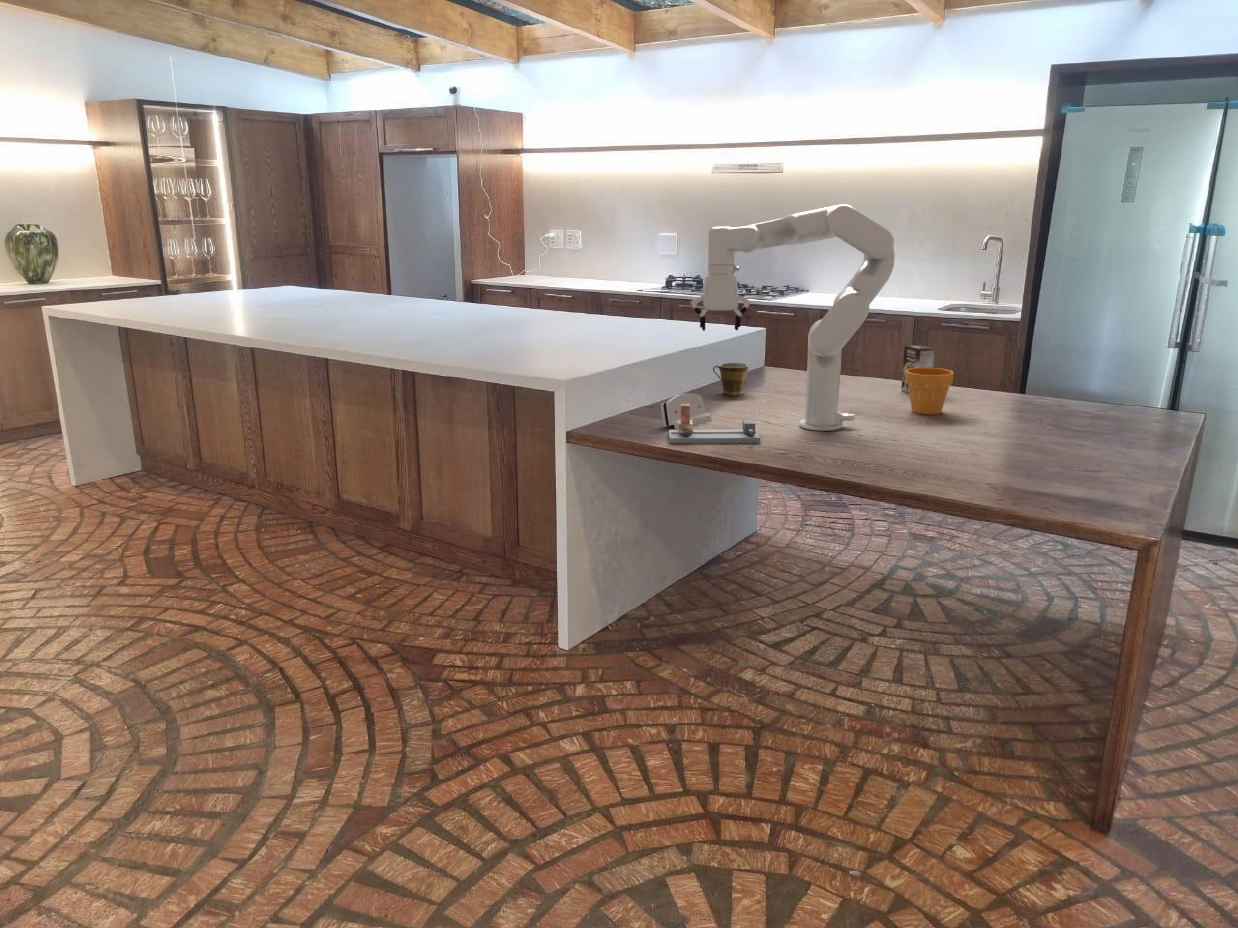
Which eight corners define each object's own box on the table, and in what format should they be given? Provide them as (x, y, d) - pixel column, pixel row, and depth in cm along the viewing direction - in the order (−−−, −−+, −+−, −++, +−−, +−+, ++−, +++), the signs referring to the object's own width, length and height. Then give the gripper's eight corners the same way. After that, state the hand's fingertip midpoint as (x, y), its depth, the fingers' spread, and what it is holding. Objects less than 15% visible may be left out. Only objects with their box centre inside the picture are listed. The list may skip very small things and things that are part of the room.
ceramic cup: (751, 392, 316) (752, 364, 313) (740, 397, 308) (740, 368, 305) (718, 388, 323) (719, 361, 320) (706, 393, 315) (706, 365, 312)
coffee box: (900, 390, 315) (903, 345, 311) (915, 389, 317) (919, 344, 313) (915, 395, 307) (919, 348, 303) (931, 394, 309) (935, 347, 304)
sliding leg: (691, 429, 255) (691, 402, 253) (693, 437, 247) (693, 409, 245) (677, 430, 255) (677, 403, 253) (679, 437, 247) (679, 409, 245)
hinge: (675, 429, 264) (667, 396, 264) (664, 432, 267) (656, 399, 267) (712, 420, 275) (704, 388, 275) (701, 423, 278) (693, 392, 278)
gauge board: (755, 434, 257) (756, 418, 255) (760, 443, 247) (760, 426, 246) (668, 434, 257) (668, 419, 256) (670, 443, 247) (670, 427, 246)
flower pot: (904, 415, 277) (907, 374, 274) (901, 406, 291) (904, 366, 287) (952, 417, 274) (956, 375, 271) (947, 407, 287) (950, 368, 284)
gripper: (749, 269, 261) (747, 328, 266) (690, 270, 262) (689, 328, 267) (752, 271, 254) (750, 331, 259) (691, 271, 255) (691, 332, 259)
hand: (720, 329), depth 263 cm, fingers open, 9 cm apart
